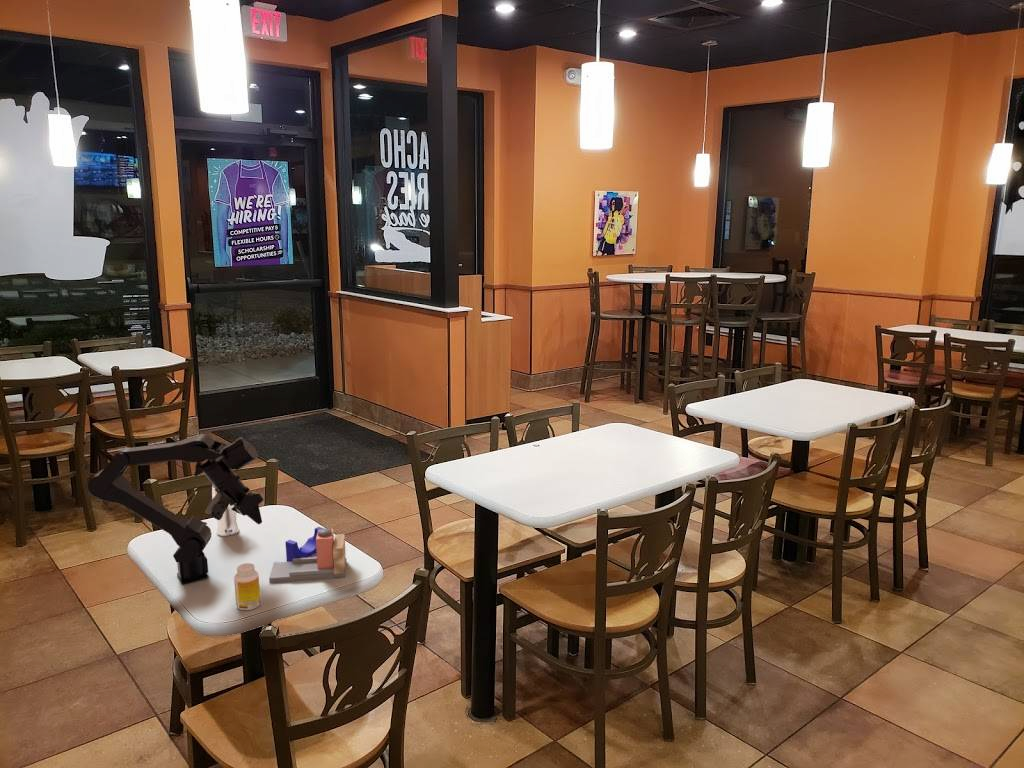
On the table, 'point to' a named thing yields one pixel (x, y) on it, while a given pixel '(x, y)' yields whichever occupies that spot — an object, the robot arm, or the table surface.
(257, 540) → the table surface
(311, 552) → the blue curved piece
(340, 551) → the socket block
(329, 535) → the orange upright block
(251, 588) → the supplement bottle
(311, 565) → the socket board
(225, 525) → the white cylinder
